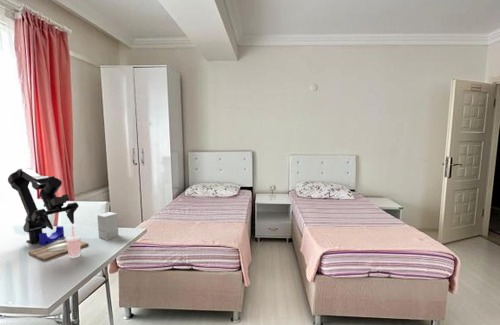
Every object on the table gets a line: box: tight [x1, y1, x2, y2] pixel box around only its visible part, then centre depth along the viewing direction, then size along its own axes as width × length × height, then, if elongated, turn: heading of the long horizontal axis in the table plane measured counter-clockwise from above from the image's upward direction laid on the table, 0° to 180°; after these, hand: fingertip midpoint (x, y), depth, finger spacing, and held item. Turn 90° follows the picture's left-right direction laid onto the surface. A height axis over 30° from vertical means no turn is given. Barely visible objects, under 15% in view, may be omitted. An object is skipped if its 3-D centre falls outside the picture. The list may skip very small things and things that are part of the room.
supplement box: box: [97, 211, 119, 241], centre depth 157 cm, size 7×7×13 cm
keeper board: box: [28, 239, 89, 262], centre depth 139 cm, size 14×20×2 cm
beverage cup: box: [65, 226, 82, 259], centre depth 132 cm, size 6×6×14 cm
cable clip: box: [39, 225, 65, 246], centre depth 152 cm, size 12×4×6 cm, turn 169°
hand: (63, 226), depth 136 cm, fingers open, 9 cm apart
